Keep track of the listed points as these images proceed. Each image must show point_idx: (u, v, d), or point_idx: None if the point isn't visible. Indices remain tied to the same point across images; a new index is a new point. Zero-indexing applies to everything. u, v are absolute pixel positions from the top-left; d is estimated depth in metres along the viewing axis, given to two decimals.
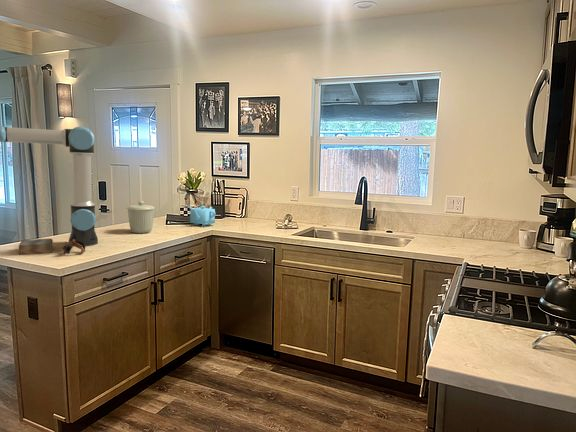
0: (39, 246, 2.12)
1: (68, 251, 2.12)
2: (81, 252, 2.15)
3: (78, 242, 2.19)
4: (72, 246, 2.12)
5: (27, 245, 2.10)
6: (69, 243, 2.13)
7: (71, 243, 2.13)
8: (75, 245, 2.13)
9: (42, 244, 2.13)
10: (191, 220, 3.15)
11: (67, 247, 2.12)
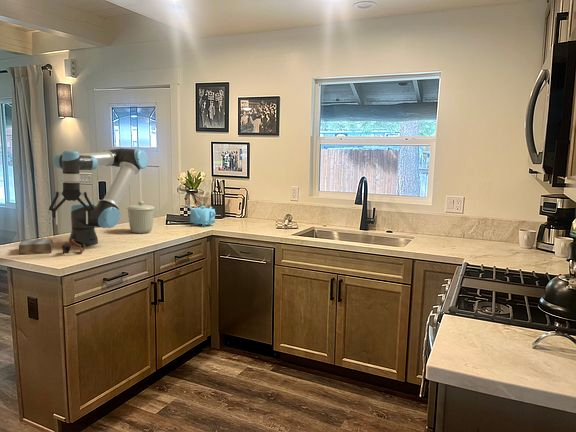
0: (39, 246, 2.12)
1: (67, 251, 2.12)
2: (80, 252, 2.15)
3: (77, 242, 2.20)
4: (71, 246, 2.13)
5: (27, 245, 2.10)
6: (68, 243, 2.14)
7: (70, 243, 2.14)
8: (74, 245, 2.14)
9: (42, 244, 2.13)
10: (191, 220, 3.15)
11: (66, 247, 2.13)
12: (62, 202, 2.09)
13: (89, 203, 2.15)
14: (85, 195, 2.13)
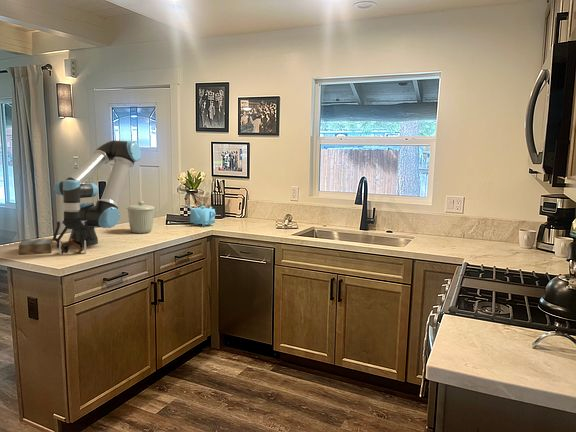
0: (39, 246, 2.12)
1: (66, 250, 2.13)
2: (79, 251, 2.16)
3: (76, 241, 2.20)
4: (70, 245, 2.13)
5: (27, 245, 2.10)
6: (67, 242, 2.14)
7: (69, 242, 2.14)
8: (73, 244, 2.14)
9: (42, 244, 2.13)
10: (191, 220, 3.15)
11: (65, 246, 2.13)
12: (64, 231, 2.11)
13: (88, 232, 2.16)
14: (85, 224, 2.15)
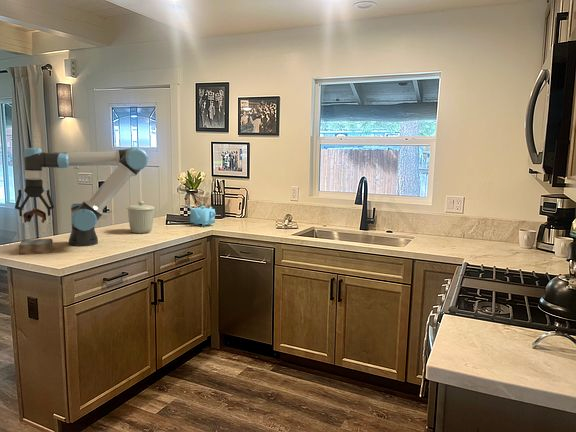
0: (39, 246, 2.12)
1: (29, 219, 2.13)
2: (42, 220, 2.17)
3: (39, 211, 2.21)
4: (33, 214, 2.14)
5: (27, 245, 2.10)
6: (30, 211, 2.15)
7: (32, 211, 2.15)
8: (36, 213, 2.15)
9: (42, 244, 2.13)
10: (191, 220, 3.15)
11: (28, 215, 2.14)
12: (26, 199, 2.12)
13: (50, 201, 2.16)
14: (48, 193, 2.15)
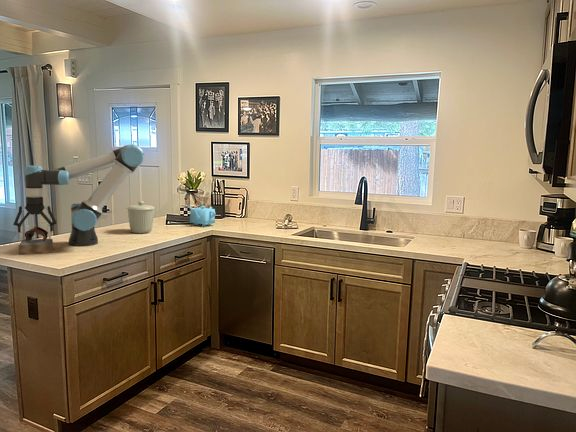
0: (39, 246, 2.12)
1: (30, 238, 2.15)
2: (43, 239, 2.18)
3: (40, 229, 2.22)
4: (34, 233, 2.15)
5: (27, 245, 2.10)
6: (31, 230, 2.16)
7: (33, 230, 2.16)
8: (37, 232, 2.16)
9: (42, 244, 2.13)
10: (191, 220, 3.15)
11: (29, 234, 2.15)
12: (26, 216, 2.13)
13: (52, 217, 2.18)
14: (48, 209, 2.17)
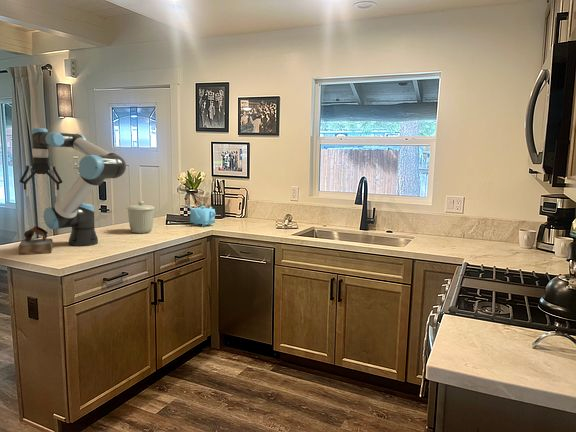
0: (39, 246, 2.12)
1: (30, 238, 2.15)
2: (43, 239, 2.18)
3: (39, 229, 2.22)
4: (33, 233, 2.15)
5: (27, 245, 2.10)
6: (30, 230, 2.16)
7: (32, 230, 2.16)
8: (37, 232, 2.16)
9: (42, 244, 2.13)
10: (191, 220, 3.15)
11: (28, 234, 2.15)
12: (32, 175, 2.27)
13: (58, 177, 2.33)
14: (54, 169, 2.32)
